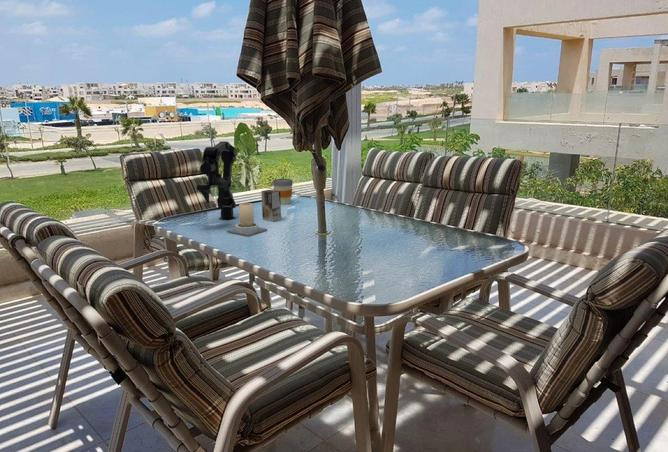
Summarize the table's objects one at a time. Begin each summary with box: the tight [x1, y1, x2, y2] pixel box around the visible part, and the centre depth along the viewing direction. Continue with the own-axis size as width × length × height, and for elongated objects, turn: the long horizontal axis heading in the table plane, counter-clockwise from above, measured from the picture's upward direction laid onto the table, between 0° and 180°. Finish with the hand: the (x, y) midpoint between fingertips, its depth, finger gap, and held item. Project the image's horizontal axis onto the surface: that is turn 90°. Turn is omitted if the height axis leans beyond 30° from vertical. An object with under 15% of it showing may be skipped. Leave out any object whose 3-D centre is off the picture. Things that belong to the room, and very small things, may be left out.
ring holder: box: [226, 222, 268, 238], centre depth 251 cm, size 14×14×4 cm
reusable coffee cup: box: [272, 178, 293, 206], centre depth 318 cm, size 13×13×15 cm
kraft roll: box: [238, 202, 255, 227], centre depth 250 cm, size 7×7×13 cm
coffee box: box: [261, 189, 282, 223], centre depth 275 cm, size 9×6×16 cm
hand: (214, 201), depth 259 cm, fingers open, 9 cm apart
